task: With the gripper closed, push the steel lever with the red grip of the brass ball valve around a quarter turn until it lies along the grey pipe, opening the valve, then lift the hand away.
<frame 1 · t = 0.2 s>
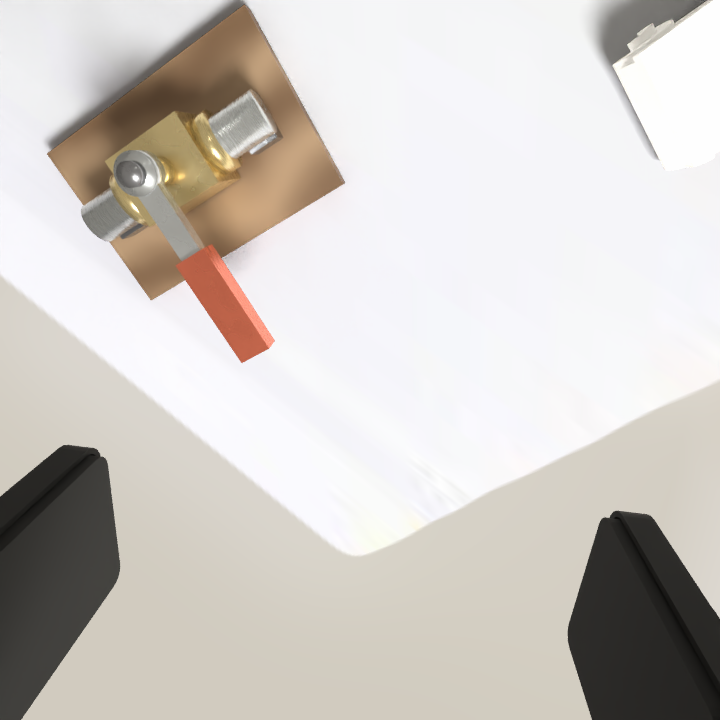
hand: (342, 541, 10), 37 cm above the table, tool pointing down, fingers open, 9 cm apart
ball valve: (171, 170, 38), on the base board, point 5 cm above the table
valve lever: (194, 259, 35), point 11 cm above the table, hinge at 0.0°
base board: (199, 168, 43), on the table
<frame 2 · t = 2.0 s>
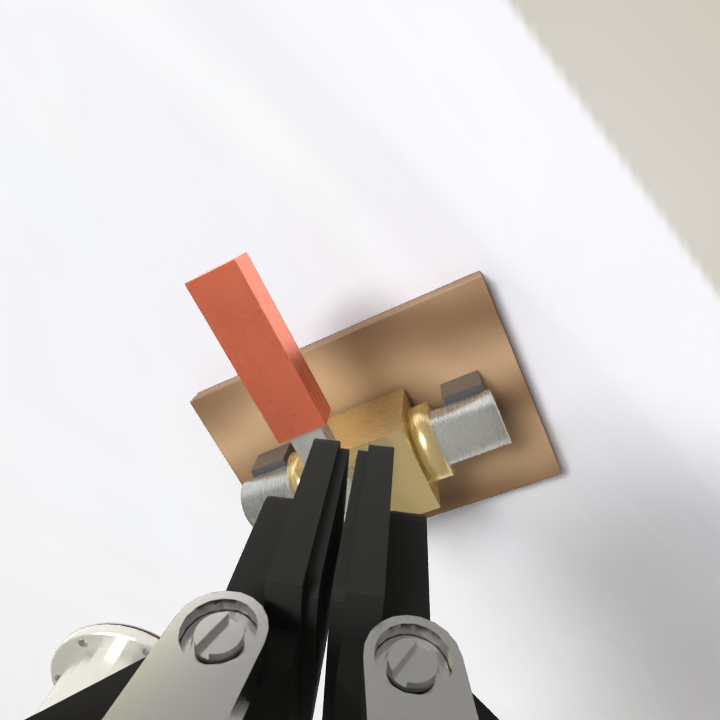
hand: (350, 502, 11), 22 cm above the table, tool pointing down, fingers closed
ball valve: (369, 471, 30), on the base board, point 5 cm above the table
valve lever: (301, 424, 23), point 11 cm above the table, hinge at 0.0°
base board: (375, 426, 35), on the table
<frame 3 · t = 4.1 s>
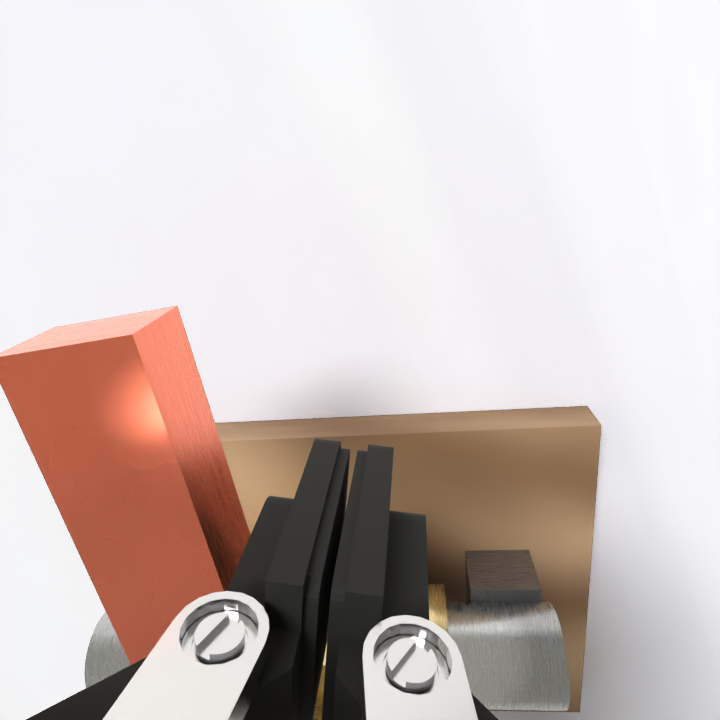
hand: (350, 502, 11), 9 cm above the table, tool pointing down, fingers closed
ball valve: (319, 675, 18), on the base board, point 5 cm above the table
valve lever: (214, 685, 11), point 11 cm above the table, hinge at 5.6°, touching gripper
base board: (338, 561, 23), on the table
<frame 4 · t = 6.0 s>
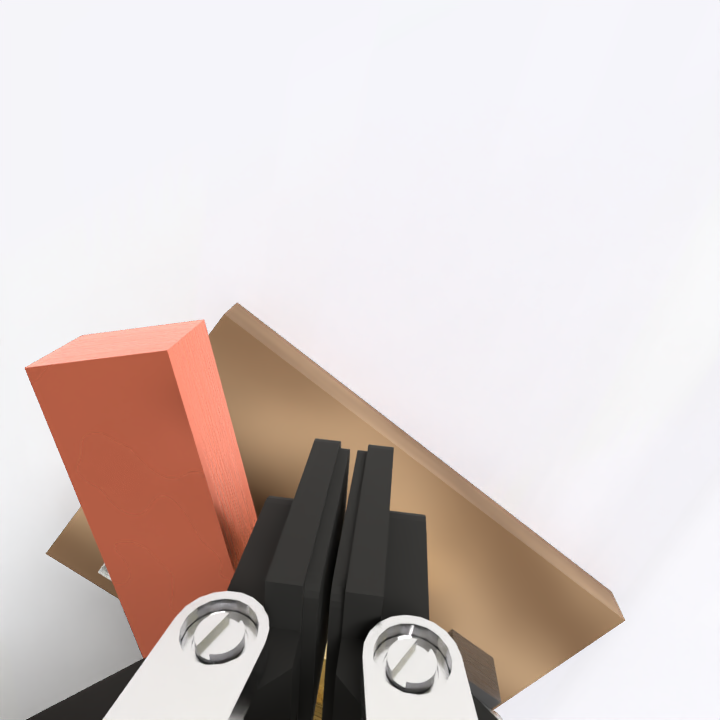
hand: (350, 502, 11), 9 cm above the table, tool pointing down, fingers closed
ball valve: (314, 671, 18), on the base board, point 5 cm above the table
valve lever: (223, 682, 11), point 11 cm above the table, hinge at 47.9°, touching gripper
base board: (333, 560, 23), on the table
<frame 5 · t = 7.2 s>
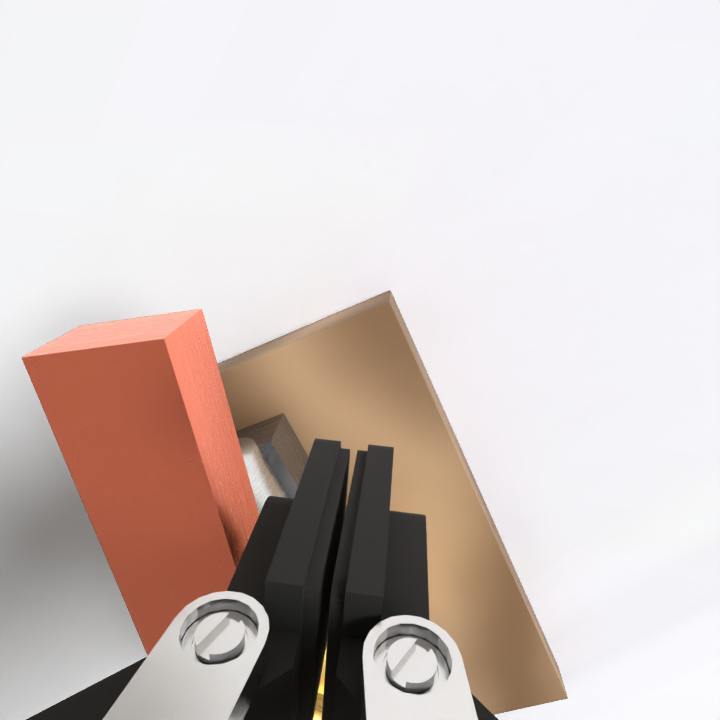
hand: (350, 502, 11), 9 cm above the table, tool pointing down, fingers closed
ball valve: (317, 663, 18), on the base board, point 5 cm above the table
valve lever: (225, 672, 11), point 11 cm above the table, hinge at 74.4°, touching gripper
base board: (335, 553, 23), on the table
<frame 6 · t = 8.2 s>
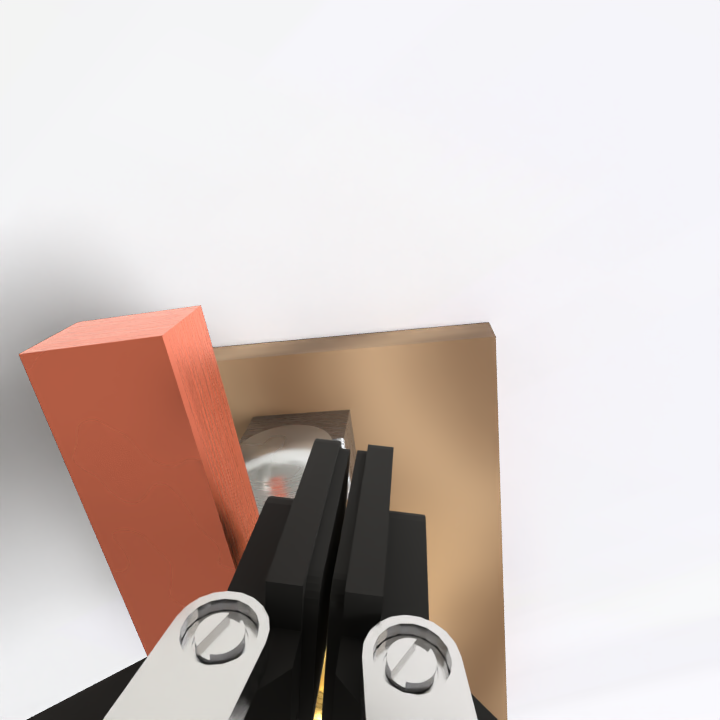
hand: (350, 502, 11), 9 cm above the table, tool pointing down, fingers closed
ball valve: (316, 660, 18), on the base board, point 5 cm above the table
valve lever: (224, 671, 11), point 11 cm above the table, hinge at 91.9°, touching gripper
base board: (335, 550, 23), on the table
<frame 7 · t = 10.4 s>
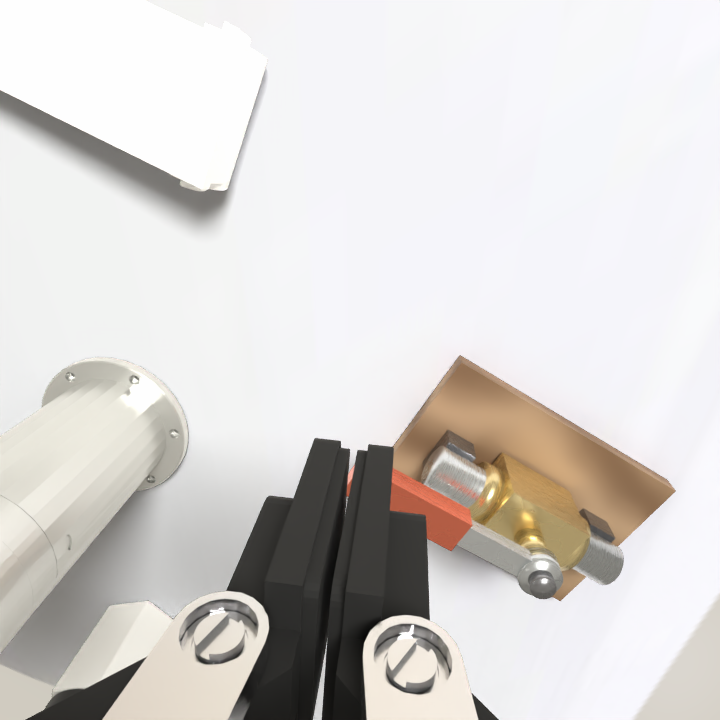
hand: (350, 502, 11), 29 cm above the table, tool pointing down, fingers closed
ball valve: (524, 523, 39), on the base board, point 5 cm above the table
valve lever: (457, 531, 33), point 11 cm above the table, hinge at 91.2°
base board: (512, 481, 44), on the table
jar: (145, 628, 55), on the table
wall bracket: (64, 38, 35), on the table
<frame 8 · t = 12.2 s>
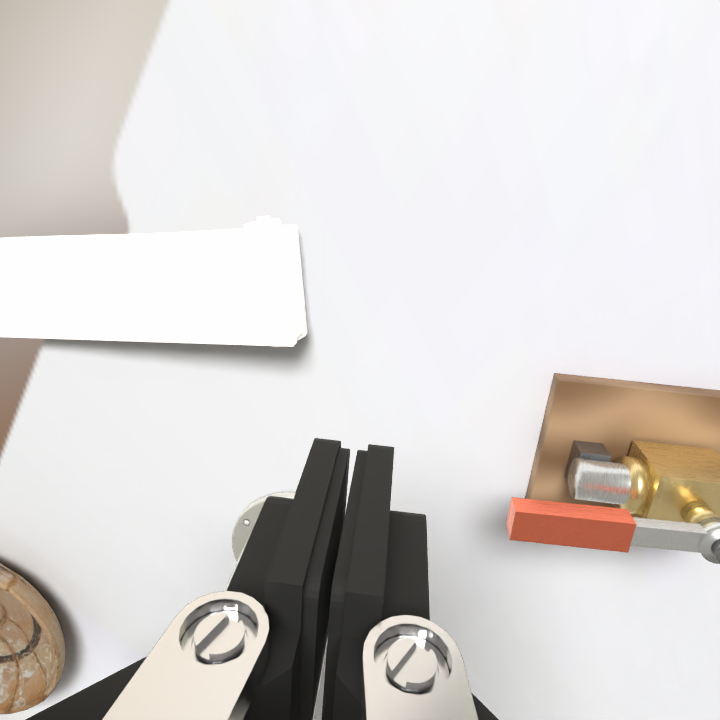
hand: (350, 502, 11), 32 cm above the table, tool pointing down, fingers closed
ball valve: (684, 497, 40), on the base board, point 5 cm above the table
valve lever: (625, 533, 36), point 11 cm above the table, hinge at 91.2°
base board: (654, 459, 45), on the table
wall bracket: (145, 279, 44), on the table
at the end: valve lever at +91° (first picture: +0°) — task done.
